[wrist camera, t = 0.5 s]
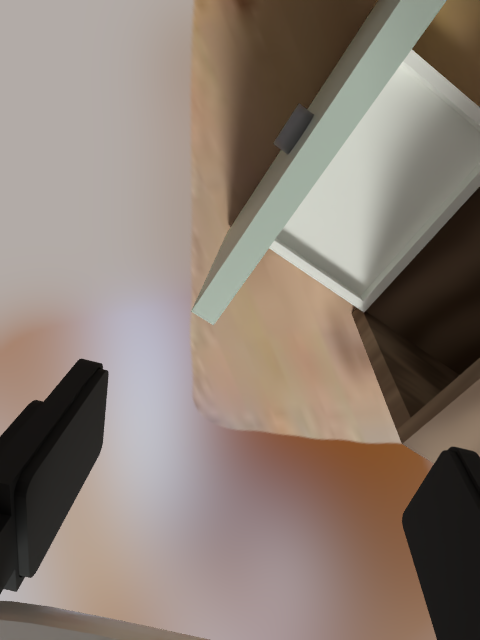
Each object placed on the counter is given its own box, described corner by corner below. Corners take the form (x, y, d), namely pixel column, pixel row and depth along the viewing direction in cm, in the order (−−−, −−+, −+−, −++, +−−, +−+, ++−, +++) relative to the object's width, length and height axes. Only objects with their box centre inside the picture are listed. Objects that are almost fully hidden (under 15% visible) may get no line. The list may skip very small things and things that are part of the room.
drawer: (218, 225, 36) (175, 301, 21) (367, -9, 28) (474, -167, 13) (347, 312, 39) (392, 435, 24) (517, 121, 31) (756, 121, 15)
